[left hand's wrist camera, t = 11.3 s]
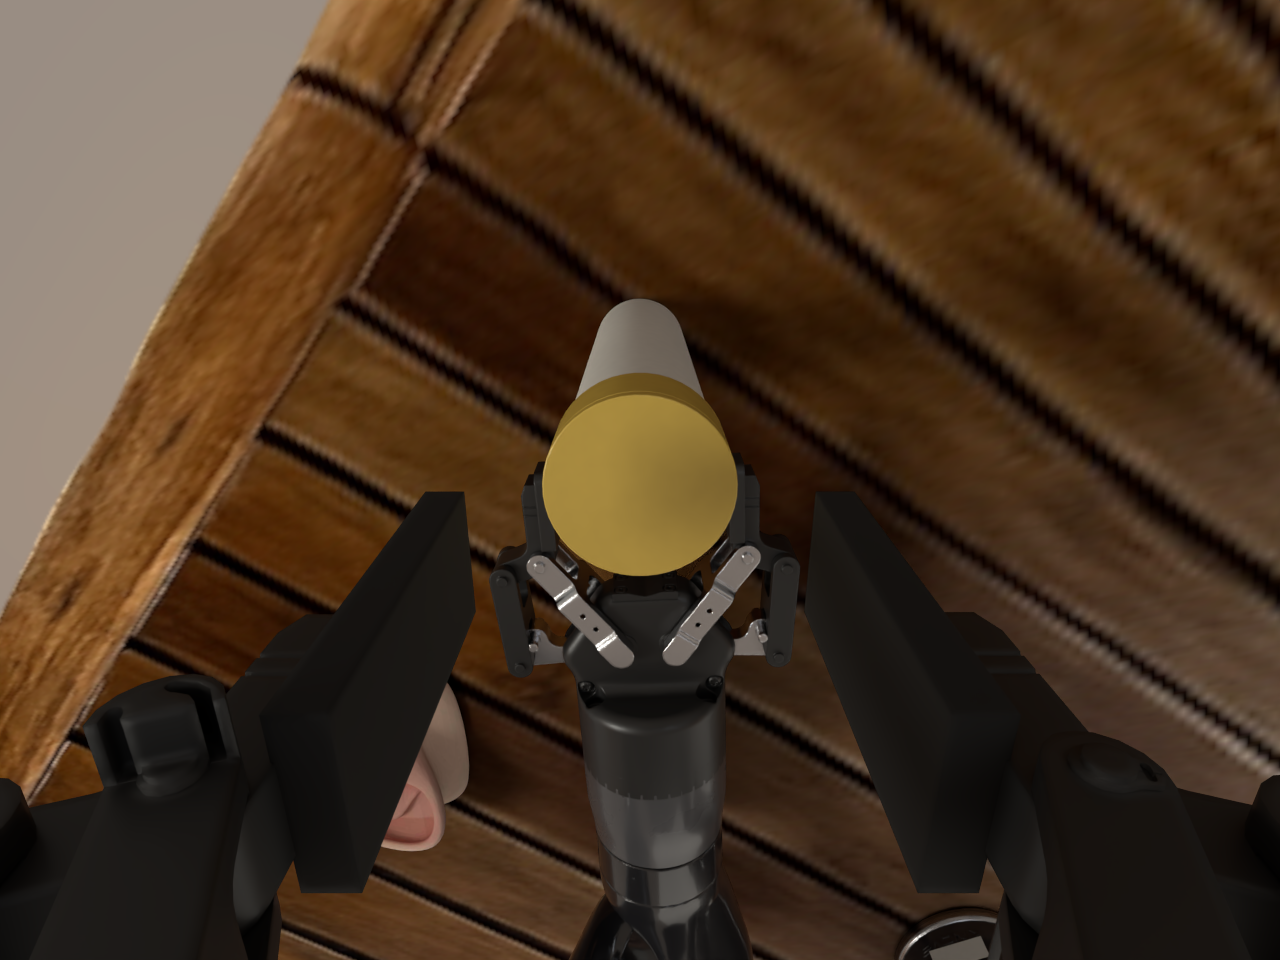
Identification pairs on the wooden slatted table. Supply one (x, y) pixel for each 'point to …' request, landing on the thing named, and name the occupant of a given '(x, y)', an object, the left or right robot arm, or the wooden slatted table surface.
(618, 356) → the white bottle
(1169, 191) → the wooden slatted table surface
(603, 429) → the lid
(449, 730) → the anatomical model
